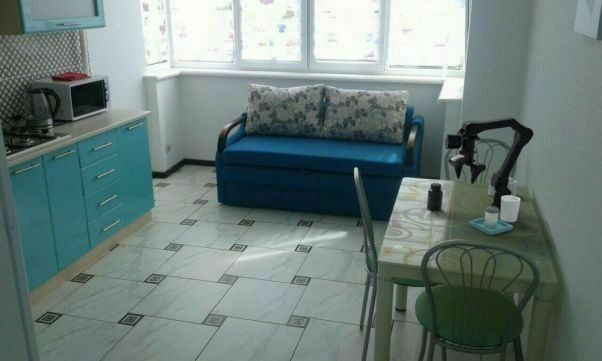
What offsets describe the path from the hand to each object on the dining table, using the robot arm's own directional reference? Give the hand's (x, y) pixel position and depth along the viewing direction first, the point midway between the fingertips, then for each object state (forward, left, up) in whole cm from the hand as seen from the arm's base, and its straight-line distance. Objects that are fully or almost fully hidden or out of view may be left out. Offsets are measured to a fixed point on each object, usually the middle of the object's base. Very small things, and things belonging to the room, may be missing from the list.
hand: (465, 181), depth 258 cm
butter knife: (+27, +4, -13) cm, 30 cm away
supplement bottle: (+14, -4, -13) cm, 19 cm away
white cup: (-6, +22, -13) cm, 26 cm away
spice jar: (+8, +25, -12) cm, 29 cm away
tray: (+8, +25, -12) cm, 29 cm away
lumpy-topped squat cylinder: (-30, -4, -13) cm, 33 cm away
